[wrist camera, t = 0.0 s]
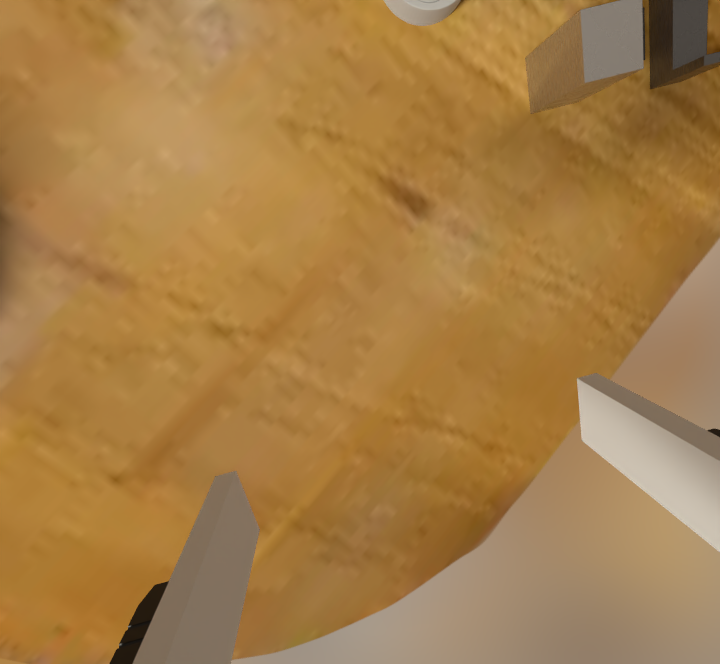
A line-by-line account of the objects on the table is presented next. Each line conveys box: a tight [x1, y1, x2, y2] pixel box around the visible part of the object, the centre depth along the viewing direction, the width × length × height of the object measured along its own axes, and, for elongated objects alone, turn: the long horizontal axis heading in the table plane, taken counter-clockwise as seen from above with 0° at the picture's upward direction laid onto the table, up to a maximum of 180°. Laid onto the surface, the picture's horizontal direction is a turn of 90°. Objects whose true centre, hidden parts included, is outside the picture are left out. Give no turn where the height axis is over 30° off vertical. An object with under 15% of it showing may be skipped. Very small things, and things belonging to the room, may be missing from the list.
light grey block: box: [525, 0, 645, 114], centre depth 33 cm, size 6×5×8 cm
